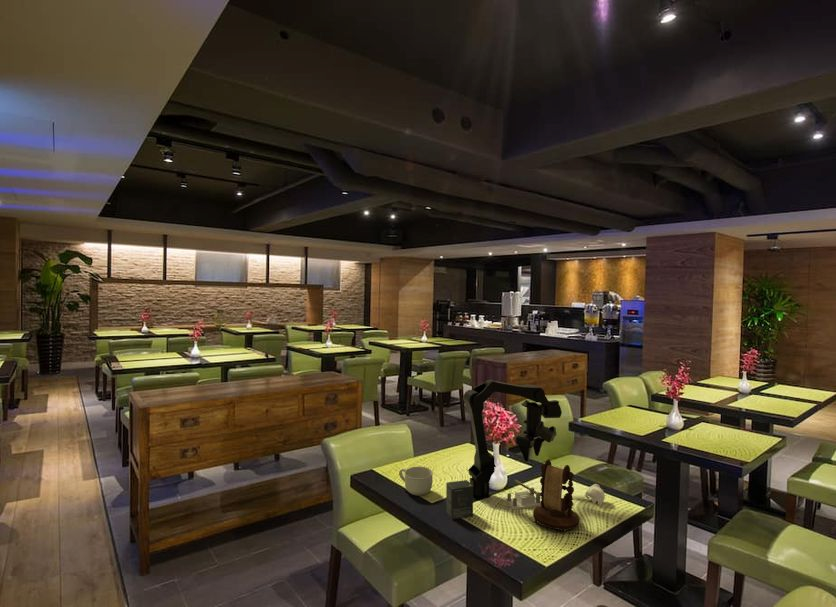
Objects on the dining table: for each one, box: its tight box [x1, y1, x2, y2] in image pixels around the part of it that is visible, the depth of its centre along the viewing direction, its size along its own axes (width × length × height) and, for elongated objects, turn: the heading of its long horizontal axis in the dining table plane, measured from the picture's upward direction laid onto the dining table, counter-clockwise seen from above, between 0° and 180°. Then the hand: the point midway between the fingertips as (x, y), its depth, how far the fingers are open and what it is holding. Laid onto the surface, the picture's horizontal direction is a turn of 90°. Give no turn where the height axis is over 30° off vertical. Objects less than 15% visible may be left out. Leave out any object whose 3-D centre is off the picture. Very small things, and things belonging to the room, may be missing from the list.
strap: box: [514, 478, 537, 495], centre depth 163 cm, size 10×3×1 cm
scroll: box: [532, 459, 581, 534], centre depth 149 cm, size 15×15×20 cm
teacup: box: [398, 465, 434, 497], centre depth 171 cm, size 14×11×8 cm
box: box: [445, 479, 474, 521], centre depth 153 cm, size 8×6×11 cm
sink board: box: [504, 487, 541, 511], centre depth 162 cm, size 12×7×4 cm, turn 108°
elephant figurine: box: [584, 483, 607, 506], centre depth 164 cm, size 7×8×6 cm
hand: (531, 458), depth 173 cm, fingers open, 9 cm apart
